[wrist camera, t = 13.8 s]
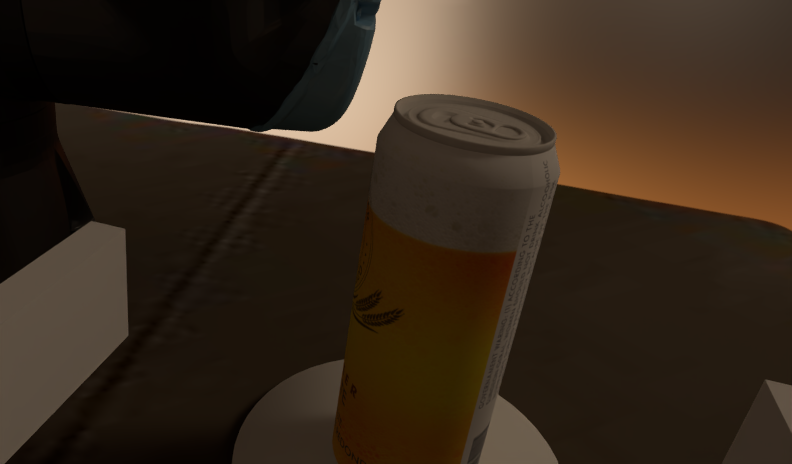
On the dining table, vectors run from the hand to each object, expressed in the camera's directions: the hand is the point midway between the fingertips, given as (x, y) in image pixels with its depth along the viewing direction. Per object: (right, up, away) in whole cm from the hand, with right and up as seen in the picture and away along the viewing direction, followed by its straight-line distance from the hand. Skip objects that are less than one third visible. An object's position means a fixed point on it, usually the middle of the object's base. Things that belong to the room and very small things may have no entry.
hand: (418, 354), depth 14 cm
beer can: (0, -7, +14) cm, 16 cm away
